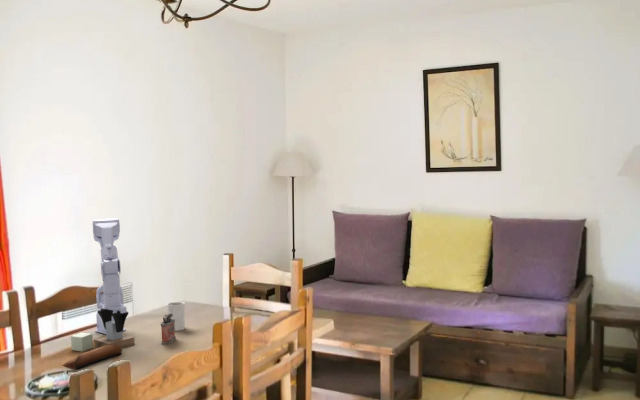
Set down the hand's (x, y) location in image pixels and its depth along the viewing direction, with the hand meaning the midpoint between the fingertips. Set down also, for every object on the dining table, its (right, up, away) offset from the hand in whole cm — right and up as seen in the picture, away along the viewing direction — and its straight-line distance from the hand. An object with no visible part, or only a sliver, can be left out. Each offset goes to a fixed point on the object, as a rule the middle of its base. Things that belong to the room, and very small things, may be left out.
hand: (113, 330), depth 222 cm
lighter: (+19, -5, +3) cm, 20 cm away
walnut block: (0, -6, 0) cm, 6 cm away
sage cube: (-10, -6, -3) cm, 12 cm away
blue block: (0, -3, 0) cm, 3 cm away
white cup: (+18, -4, +20) cm, 28 cm away
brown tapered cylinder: (-2, -7, -17) cm, 18 cm away
